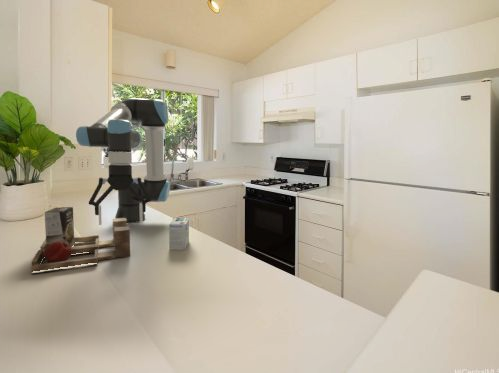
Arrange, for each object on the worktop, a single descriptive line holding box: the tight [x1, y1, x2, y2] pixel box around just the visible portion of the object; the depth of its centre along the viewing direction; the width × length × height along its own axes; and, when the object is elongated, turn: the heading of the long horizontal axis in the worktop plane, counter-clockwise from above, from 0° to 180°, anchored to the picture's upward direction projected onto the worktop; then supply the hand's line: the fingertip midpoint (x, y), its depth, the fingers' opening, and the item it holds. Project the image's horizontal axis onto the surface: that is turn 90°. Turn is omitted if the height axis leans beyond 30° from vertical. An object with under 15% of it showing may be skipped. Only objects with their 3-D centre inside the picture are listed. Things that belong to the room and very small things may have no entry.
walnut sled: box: [30, 225, 131, 273], centre depth 98 cm, size 28×13×10 cm, turn 118°
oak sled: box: [40, 218, 128, 252], centre depth 110 cm, size 28×13×10 cm, turn 118°
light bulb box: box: [168, 217, 190, 251], centre depth 116 cm, size 11×7×11 cm, turn 5°
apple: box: [44, 241, 72, 263], centre depth 94 cm, size 7×8×8 cm
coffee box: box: [44, 206, 76, 247], centre depth 106 cm, size 9×6×16 cm
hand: (121, 222), depth 102 cm, fingers open, 13 cm apart
